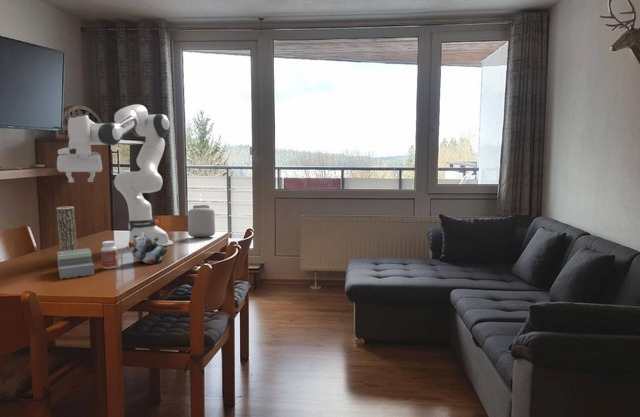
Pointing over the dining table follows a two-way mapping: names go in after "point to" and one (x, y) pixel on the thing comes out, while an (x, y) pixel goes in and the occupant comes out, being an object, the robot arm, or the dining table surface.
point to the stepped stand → (75, 263)
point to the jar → (201, 221)
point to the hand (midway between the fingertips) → (81, 182)
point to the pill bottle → (109, 255)
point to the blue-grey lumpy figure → (147, 250)
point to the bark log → (66, 228)
